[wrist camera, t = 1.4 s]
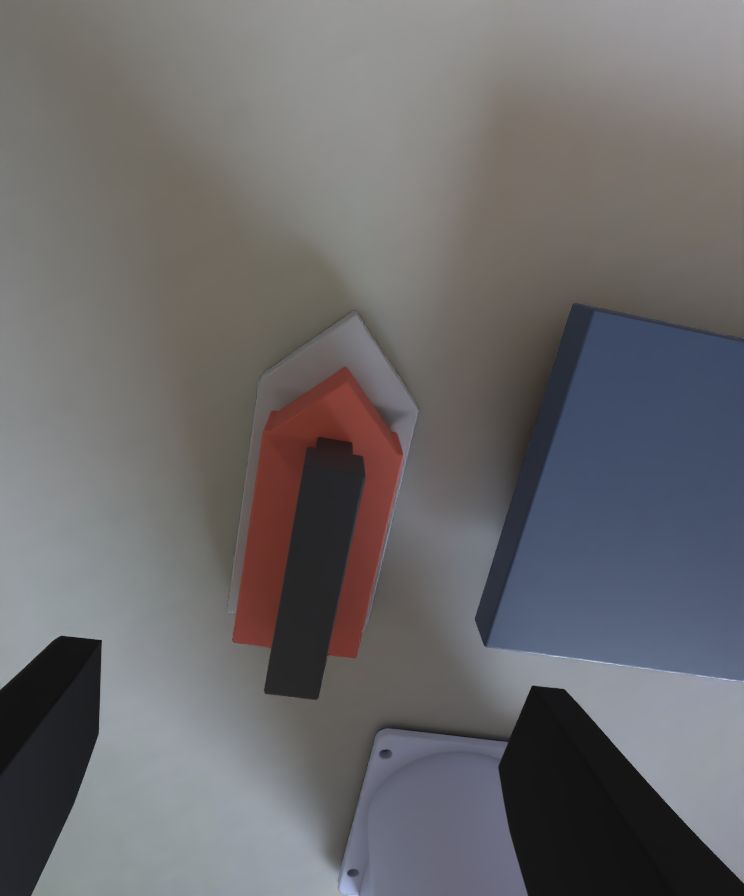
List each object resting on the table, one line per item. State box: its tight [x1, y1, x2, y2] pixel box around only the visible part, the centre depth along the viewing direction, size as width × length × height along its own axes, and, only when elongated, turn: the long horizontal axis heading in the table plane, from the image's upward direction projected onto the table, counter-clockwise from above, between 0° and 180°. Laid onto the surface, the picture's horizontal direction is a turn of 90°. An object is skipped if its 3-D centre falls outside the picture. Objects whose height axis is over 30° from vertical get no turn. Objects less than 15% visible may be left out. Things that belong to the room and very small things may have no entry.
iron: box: [227, 311, 419, 700], centre depth 17 cm, size 11×5×6 cm, turn 169°
